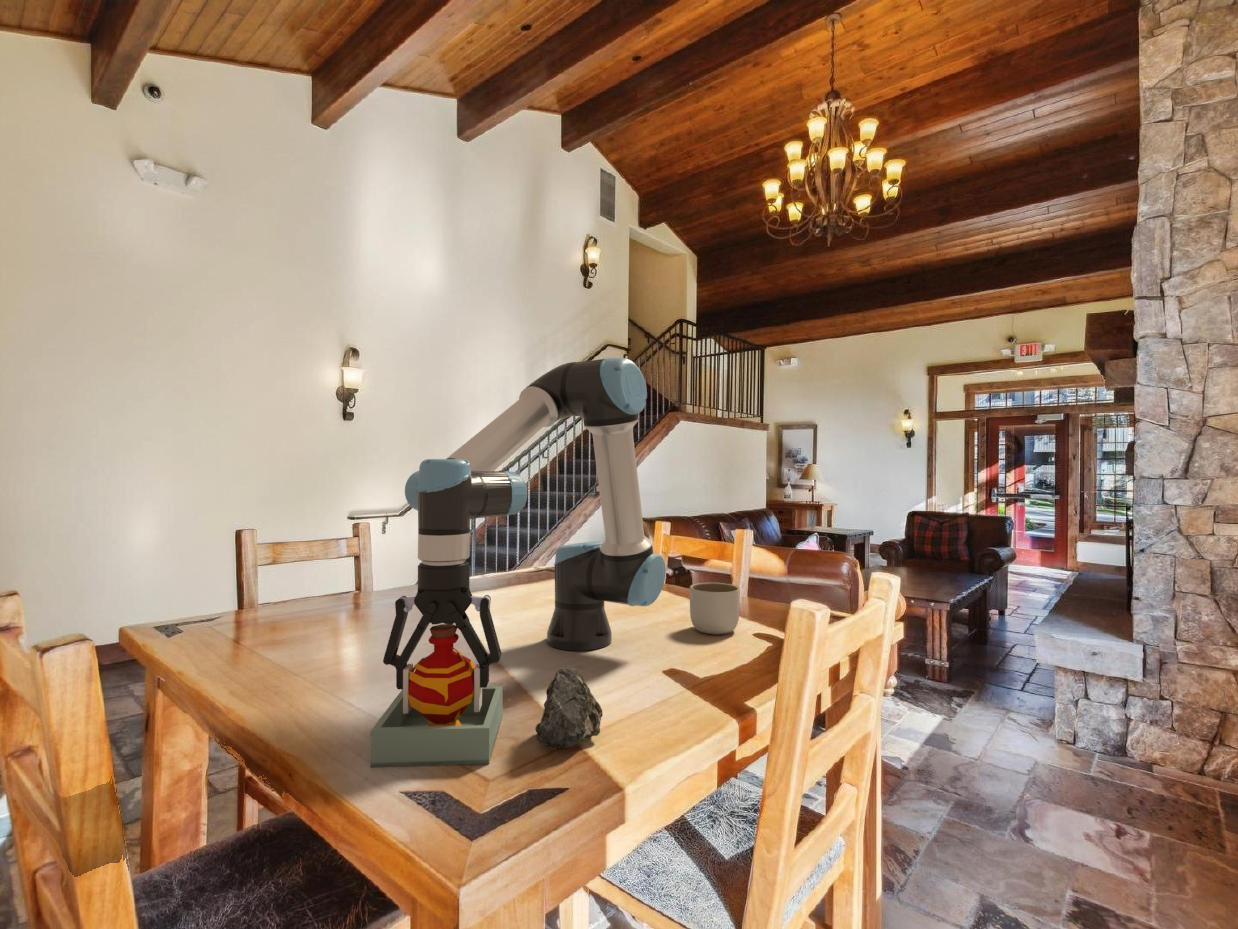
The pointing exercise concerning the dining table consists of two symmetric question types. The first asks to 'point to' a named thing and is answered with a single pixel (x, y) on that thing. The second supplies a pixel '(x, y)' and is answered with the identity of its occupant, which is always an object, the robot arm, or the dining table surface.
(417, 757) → the bin
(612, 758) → the dining table surface
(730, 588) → the planter
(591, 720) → the rock
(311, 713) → the dining table surface
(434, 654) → the potion bottle
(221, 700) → the dining table surface
